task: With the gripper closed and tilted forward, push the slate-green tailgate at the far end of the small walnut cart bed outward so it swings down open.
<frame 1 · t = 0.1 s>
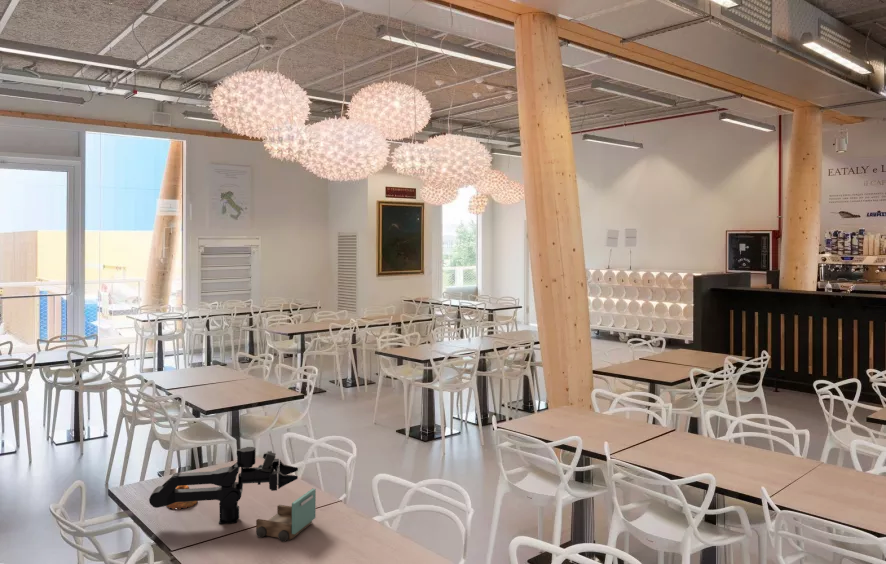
hand: (297, 473, 252), 17 cm above the table, tool horizontal, fingers open, 9 cm apart
tailgate: (305, 510, 237), point 8 cm above the table, hinge at 0.0°
cart bed: (284, 529, 240), on the table
bell: (181, 504, 263), on the table
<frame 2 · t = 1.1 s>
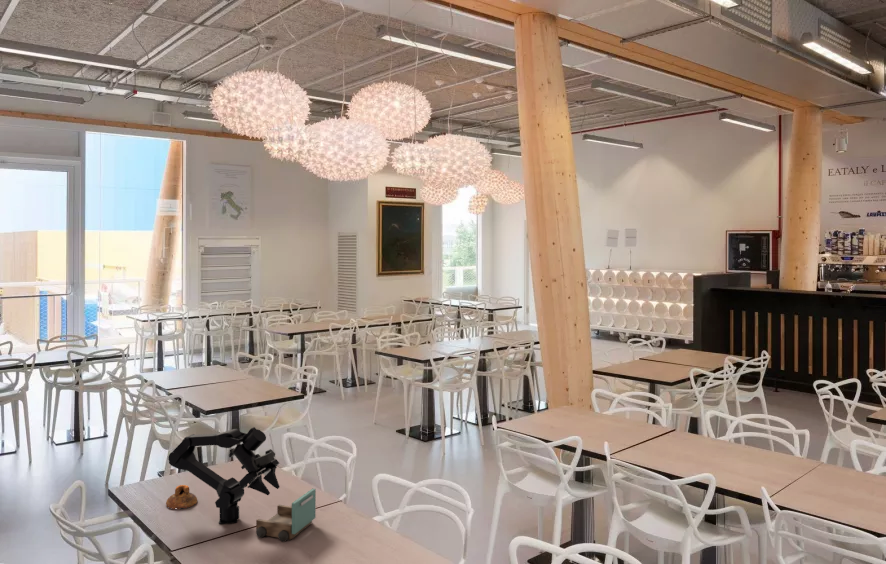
hand: (273, 491, 241), 14 cm above the table, tool tilted 45°, fingers open, 6 cm apart
nothing on the table moved.
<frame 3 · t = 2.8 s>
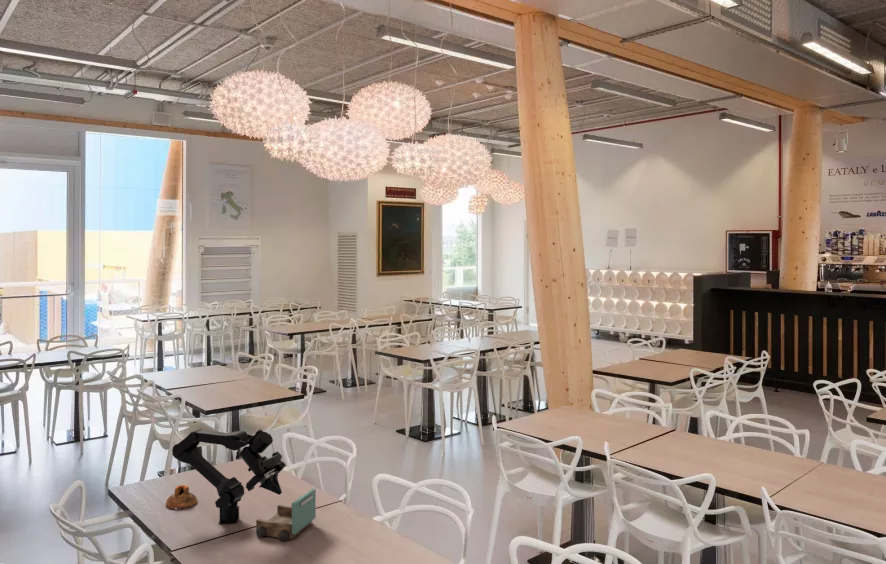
hand: (280, 493, 240), 13 cm above the table, tool tilted 45°, fingers closed
nothing on the table moved.
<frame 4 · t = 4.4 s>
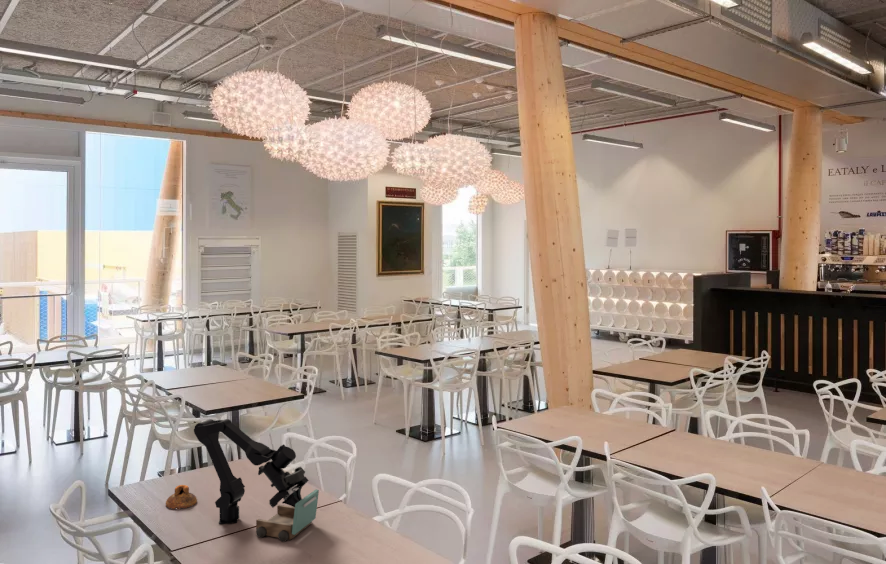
hand: (303, 509, 237), 8 cm above the table, tool tilted 45°, fingers closed, pressing on tailgate
tailgate: (306, 511, 237), point 8 cm above the table, hinge at 7.3°, touching gripper
everything else where it was.
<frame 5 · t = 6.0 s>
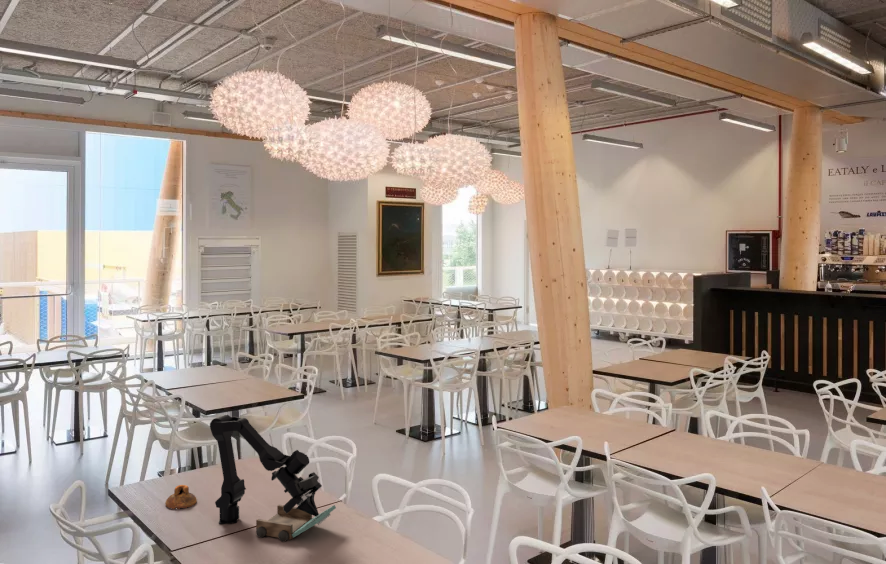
hand: (317, 515, 236), 7 cm above the table, tool tilted 45°, fingers closed
tailgate: (315, 522, 236), point 5 cm above the table, hinge at 55.3°
everything else where it was.
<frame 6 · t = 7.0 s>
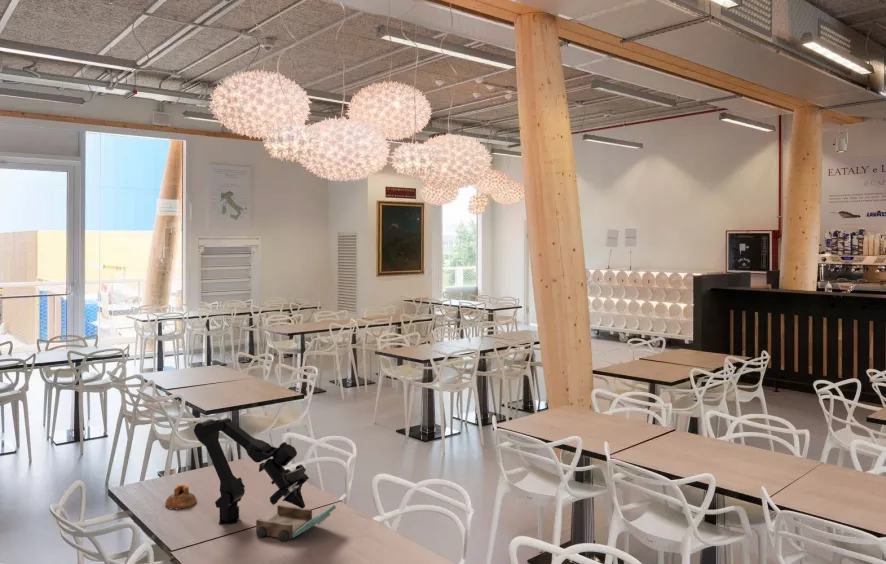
hand: (304, 507, 237), 9 cm above the table, tool tilted 45°, fingers closed
nothing on the table moved.
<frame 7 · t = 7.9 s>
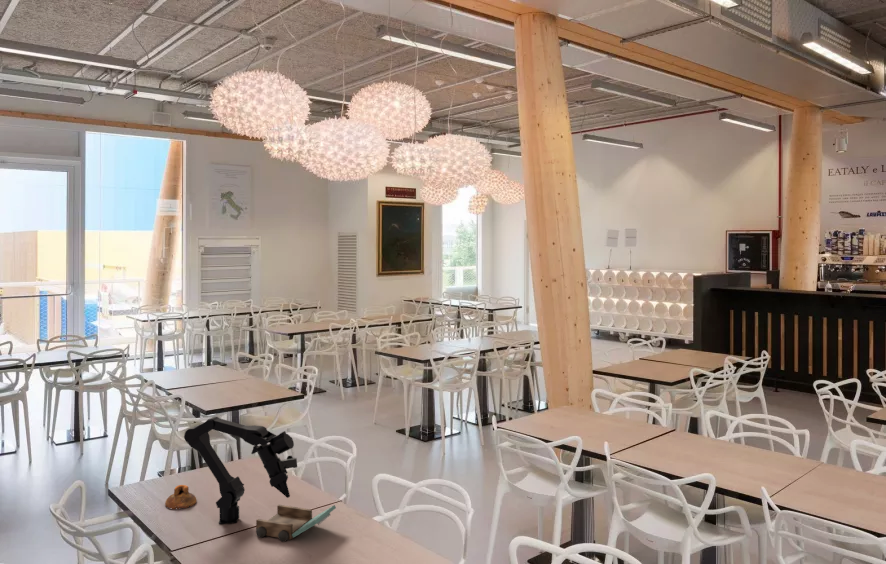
hand: (288, 497, 243), 11 cm above the table, tool tilted 30°, fingers closed
nothing on the table moved.
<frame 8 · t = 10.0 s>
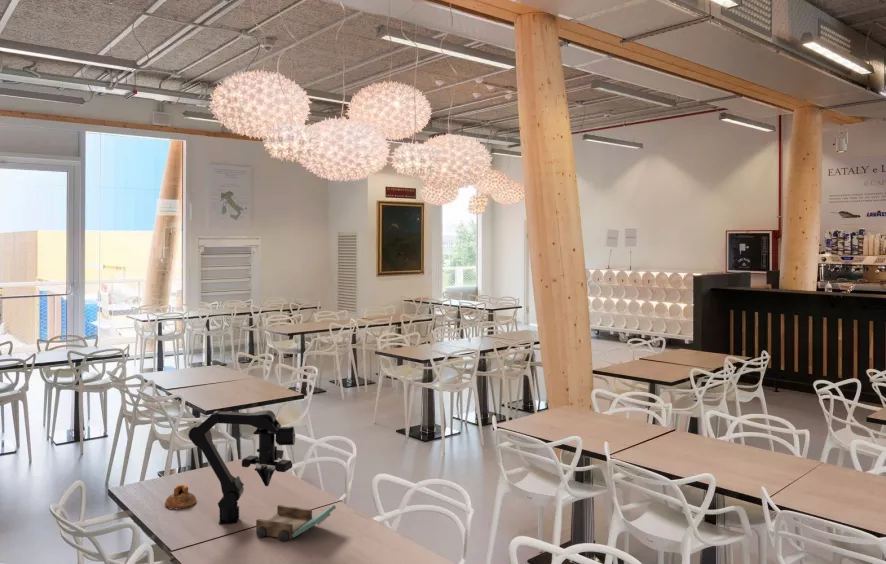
hand: (266, 485, 248), 13 cm above the table, tool pointing down, fingers closed
nothing on the table moved.
at the end: tailgate at +55° (first picture: +0°) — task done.
